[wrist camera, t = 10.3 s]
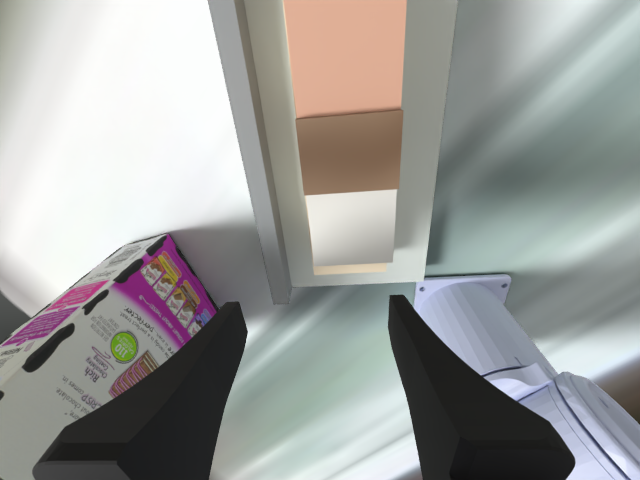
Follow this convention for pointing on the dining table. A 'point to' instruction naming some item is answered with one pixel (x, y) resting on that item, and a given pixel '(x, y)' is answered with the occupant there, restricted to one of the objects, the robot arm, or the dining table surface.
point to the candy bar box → (94, 345)
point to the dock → (282, 145)
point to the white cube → (352, 227)
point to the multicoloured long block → (349, 159)
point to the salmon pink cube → (346, 55)
